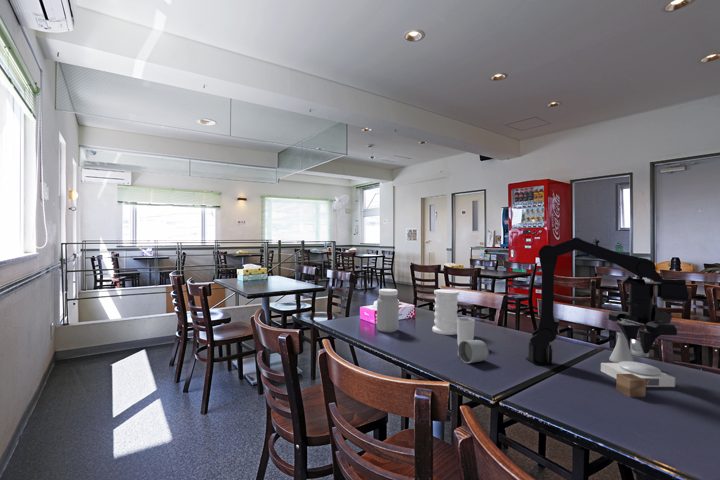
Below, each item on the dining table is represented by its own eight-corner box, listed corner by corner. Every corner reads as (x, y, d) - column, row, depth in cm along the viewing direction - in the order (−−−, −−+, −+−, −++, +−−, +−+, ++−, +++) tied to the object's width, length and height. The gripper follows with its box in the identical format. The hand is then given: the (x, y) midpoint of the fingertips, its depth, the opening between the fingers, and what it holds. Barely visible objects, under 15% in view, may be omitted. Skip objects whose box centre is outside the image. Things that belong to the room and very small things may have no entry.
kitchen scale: (632, 387, 101) (632, 375, 101) (600, 370, 113) (601, 360, 113) (676, 387, 101) (676, 375, 101) (640, 371, 114) (640, 360, 114)
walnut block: (629, 397, 95) (630, 380, 94) (616, 389, 99) (616, 373, 99) (645, 397, 95) (645, 380, 95) (631, 389, 99) (631, 373, 99)
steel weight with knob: (638, 357, 105) (638, 341, 105) (626, 352, 110) (626, 337, 110) (652, 357, 105) (653, 341, 105) (640, 352, 110) (640, 337, 110)
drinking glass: (477, 345, 138) (478, 320, 138) (466, 348, 134) (467, 322, 134) (464, 341, 143) (464, 316, 143) (452, 343, 139) (453, 318, 139)
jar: (402, 330, 158) (403, 290, 158) (389, 334, 151) (389, 292, 151) (385, 326, 165) (386, 287, 165) (371, 329, 158) (372, 289, 158)
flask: (640, 367, 117) (640, 337, 117) (615, 365, 119) (616, 335, 119) (628, 360, 125) (628, 331, 124) (605, 358, 126) (605, 330, 126)
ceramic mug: (490, 363, 118) (490, 341, 118) (472, 366, 115) (472, 343, 115) (468, 354, 127) (468, 333, 127) (451, 357, 124) (451, 336, 124)
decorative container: (438, 335, 152) (439, 293, 152) (428, 328, 163) (429, 289, 163) (463, 334, 154) (464, 292, 154) (451, 327, 165) (452, 289, 165)
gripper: (696, 305, 98) (695, 361, 98) (640, 294, 117) (639, 342, 117) (658, 305, 98) (656, 361, 98) (608, 294, 117) (606, 341, 117)
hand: (639, 350), depth 107 cm, fingers closed on steel weight with knob, 4 cm apart
